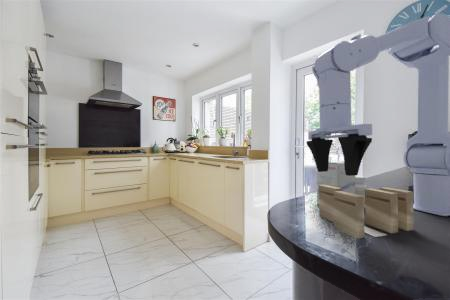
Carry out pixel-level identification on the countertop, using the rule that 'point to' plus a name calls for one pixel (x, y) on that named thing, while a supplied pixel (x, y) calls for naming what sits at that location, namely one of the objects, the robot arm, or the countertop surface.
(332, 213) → the tile
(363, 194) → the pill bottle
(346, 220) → the tile
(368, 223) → the tile
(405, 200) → the tile
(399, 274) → the countertop surface
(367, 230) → the plate
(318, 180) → the ink box
